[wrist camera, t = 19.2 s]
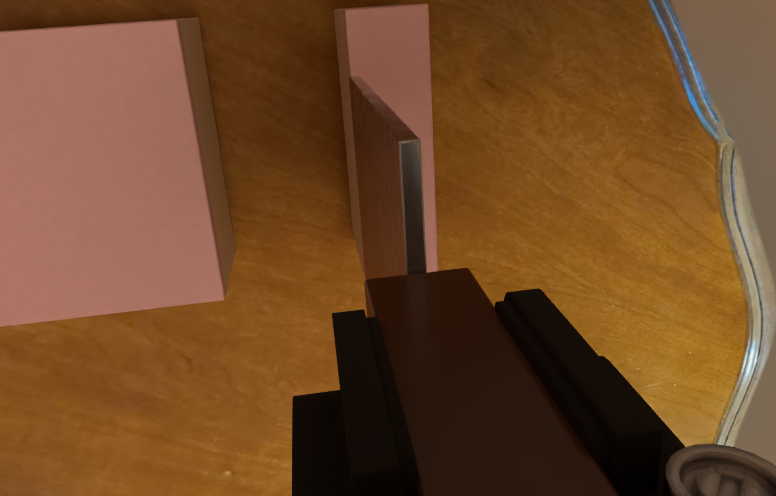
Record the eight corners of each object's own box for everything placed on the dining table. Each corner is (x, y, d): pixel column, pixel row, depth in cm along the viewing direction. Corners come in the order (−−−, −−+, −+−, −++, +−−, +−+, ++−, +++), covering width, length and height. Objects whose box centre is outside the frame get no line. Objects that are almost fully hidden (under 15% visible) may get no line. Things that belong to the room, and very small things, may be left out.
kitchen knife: (324, 78, 21) (436, 346, 4) (384, 73, 21) (705, 312, 5) (345, 296, 24) (461, 953, 7) (398, 290, 24) (627, 917, 8)
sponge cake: (-23, 32, 29) (-104, 38, 23) (198, 17, 31) (176, 19, 24) (44, 270, 34) (-10, 328, 28) (235, 249, 35) (225, 300, 29)
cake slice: (333, 9, 31) (344, 9, 25) (401, 4, 32) (428, 3, 26) (353, 237, 36) (366, 284, 30) (413, 231, 36) (438, 276, 30)
